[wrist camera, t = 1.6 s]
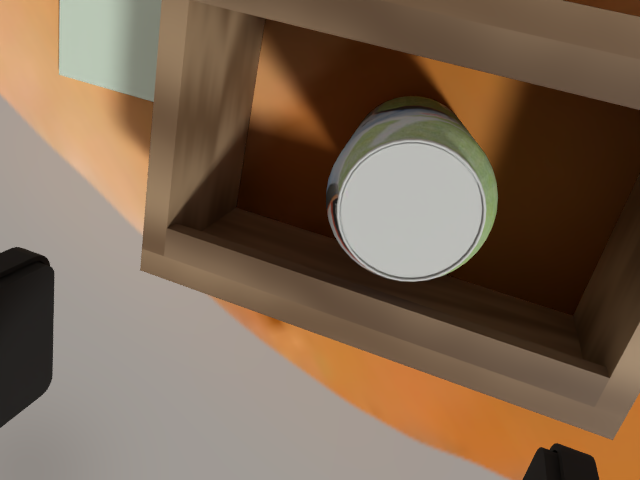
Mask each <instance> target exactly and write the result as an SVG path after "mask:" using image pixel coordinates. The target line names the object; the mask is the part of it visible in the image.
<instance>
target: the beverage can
mask: <svg viewBox="0 0 640 480" xmlns="http://www.w3.org/2000/svg"><path fill="white" fill-rule="evenodd" d="M497 203H498V192H497V182H496V179H495V175H494V172H493V169H492V166H491V164H490V162H489V160H488V158H487V156H486V155H485V153H484V152H483V150H482V149H481V148H480V146H479V145H478V144H477V142H476V141H475V140H474V138H473V137H472V136H471V134H470V133H469V132H468V130H467V129H466V128H465V126H464V125H463V124H462V122H461V121H460V120H459V119H458V117H457V116H456V115H455V114H454V113H453V112H452V111H451V110H450V109H449V108H447V107H446V106H444V105H443V104H441V103H439V102H437V101H435V100H432V99H429V98H425V97H419V96H405V97H399V98H395V99H392V100H389V101H387V102H385V103H383V104H381V105H379V106H378V107H376V108H375V109H374V110H373V111H371V112H370V113H369V114H368V115H367V116H366V118H365V119H364V120H363V121H362V122H361V124H360V125H359V127H358V128H357V130H356V131H355V133H354V134H353V135H352V137H351V138H350V140H349V141H348V143H347V144H346V146H345V147H344V149H343V150H342V152H341V153H340V155H339V157H338V158H337V160H336V162H335V164H334V165H333V168H332V171H331V174H330V176H329V179H328V185H327V191H326V209H327V214H328V219H329V223H330V226H331V228H332V231H333V233H334V236H335V237H336V239H337V241H338V242H339V244H340V246H341V247H342V248H343V249H344V251H345V252H346V253H347V254H348V255H349V256H350V257H351V258H352V259H353V260H354V261H355V262H357V263H358V264H359V265H360V266H362V267H363V268H365V269H367V270H368V271H370V272H372V273H374V274H376V275H379V276H382V277H384V278H388V279H392V280H397V281H410V282H415V281H424V280H430V279H433V278H437V277H441V276H443V275H445V274H448V273H450V272H452V271H454V270H456V269H457V268H459V267H460V266H462V265H463V264H465V263H466V262H467V261H468V260H469V259H470V258H471V257H472V256H474V255H475V254H476V253H477V252H478V250H479V249H480V247H481V246H482V245H483V243H484V242H485V241H486V239H487V237H488V235H489V233H490V231H491V229H492V227H493V223H494V220H495V216H496V213H497Z"/></svg>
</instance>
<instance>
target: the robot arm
mask: <svg viewBox="0 0 640 480" xmlns="http://www.w3.org/2000/svg"><path fill="white" fill-rule="evenodd" d="M53 313H54V270H53V269H52V267H50V263H49V261H48V259H47V258H46V257H45V256H42V255H40V254H37V253H34V252H31V251H29V250H26V249H23V248H20V247H15V248H11V249H9V250H6V251H5V252H2V253H0V428H1V427H2V426H3V425H5V424H6V423H7V422H8V421H9V420H11V419H12V418H13V417H15V416H16V415H17V414H19V413H20V412H21V411H22V410H23V409H25V408H26V407H28V406H29V405H30V404H31V403H33V402H34V401H35V400H36V399H38V398H39V397H40V396H41V395H43V393H44V392H45V391H46V390H47V389H48V387H49V385H50V383H51V380H52V365H53V363H52V362H53V315H54V314H53ZM523 480H599V476H598V472H597V467H596V463H595V460H594V458H593V457H592V456H591V455H588V454H585V453H582V452H580V451H577V450H574V449H571V448H569V447H566V446H563V445H561V444H558V443H556V444H554V445H553V446H552V447H551V448H550V450H548V449H545V448H542V447H540V448H539V449H538V450H537V452H536V453H535V455H534V457H533V459H532V462H531V464H530V466H529V468H528V470H527V472H526V474H525V476H524V478H523Z"/></svg>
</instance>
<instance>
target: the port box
mask: <svg viewBox="0 0 640 480" xmlns="http://www.w3.org/2000/svg"><path fill="white" fill-rule="evenodd" d="M265 18H266V19H270V20H274V21H278V22H282V23H287V24H291V25H295V26H299V27H303V28H307V29H311V30H315V31H319V32H323V33H327V34H331V35H336V36H340V37H344V38H348V39H352V40H356V41H360V42H364V43H368V44H372V45H376V46H380V47H385V48H389V49H393V50H397V51H401V52H405V53H409V54H413V55H417V56H421V57H425V58H430V59H434V60H438V61H442V62H446V63H450V64H454V65H458V66H462V67H466V68H470V69H474V70H479V71H483V72H487V73H491V74H495V75H499V76H503V77H507V78H511V79H515V80H519V81H523V82H528V83H532V84H536V85H540V86H544V87H548V88H552V89H556V90H560V91H564V92H568V93H572V94H577V95H581V96H585V97H589V98H593V99H597V100H601V101H605V102H609V103H613V104H617V105H621V106H626V107H630V108H634V109H638V110H640V17H638V16H633V15H629V14H624V13H619V12H614V11H610V10H605V9H600V8H596V7H591V6H586V5H582V4H577V3H572V2H568V1H563V0H162V3H161V16H160V28H159V41H158V54H157V66H156V79H155V92H154V104H153V117H152V130H151V142H150V155H149V168H148V180H147V193H146V206H145V218H144V231H143V244H142V256H141V269H140V270H141V271H144V272H147V273H150V274H152V275H155V276H158V277H161V278H164V279H166V280H169V281H172V282H175V283H178V284H180V285H183V286H186V287H189V288H191V289H194V290H197V291H200V292H202V293H205V294H208V295H211V296H214V297H216V298H219V299H222V300H225V301H227V302H230V303H233V304H236V305H239V306H241V307H244V308H247V309H250V310H252V311H255V312H258V313H261V314H264V315H266V316H269V317H272V318H275V319H278V320H280V321H283V322H286V323H289V324H291V325H294V326H297V327H300V328H303V329H305V330H308V331H311V332H314V333H316V334H319V335H322V336H325V337H328V338H330V339H333V340H336V341H339V342H342V343H344V344H347V345H350V346H353V347H355V348H358V349H361V350H364V351H367V352H369V353H372V354H375V355H378V356H380V357H383V358H386V359H389V360H392V361H394V362H397V363H400V364H403V365H405V366H408V367H411V368H414V369H417V370H419V371H422V372H425V373H428V374H431V375H433V376H436V377H439V378H442V379H444V380H447V381H450V382H453V383H456V384H458V385H461V386H464V387H467V388H469V389H472V390H475V391H478V392H481V393H483V394H486V395H489V396H492V397H495V398H497V399H500V400H503V401H506V402H508V403H511V404H514V405H517V406H520V407H522V408H525V409H528V410H531V411H533V412H536V413H539V414H542V415H545V416H547V417H550V418H553V419H556V420H558V421H561V422H564V423H567V424H570V425H572V426H575V427H578V428H581V429H584V430H586V431H589V432H592V433H595V434H597V435H600V436H603V437H606V438H609V439H611V440H613V439H614V437H615V435H616V433H617V432H618V430H619V428H620V426H621V425H622V423H623V421H624V419H625V417H626V416H627V414H628V412H629V410H630V409H631V407H632V405H633V403H634V402H635V400H636V398H637V396H638V395H639V393H640V174H639V176H638V178H637V180H636V182H635V184H634V187H633V189H632V191H631V193H630V195H629V197H628V199H627V201H626V204H625V206H624V208H623V210H622V212H621V214H620V216H619V219H618V221H617V223H616V225H615V227H614V229H613V231H612V234H611V236H610V238H609V240H608V242H607V244H606V246H605V248H604V251H603V253H602V255H601V257H600V259H599V261H598V263H597V266H596V268H595V270H594V272H593V274H592V276H591V278H590V281H589V283H588V285H587V287H586V289H585V291H584V293H583V295H582V298H581V300H580V302H579V304H578V306H577V308H576V310H575V313H574V315H573V316H572V315H569V314H566V313H563V312H560V311H556V310H553V309H550V308H547V307H544V306H541V305H538V304H535V303H532V302H528V301H525V300H522V299H519V298H516V297H513V296H510V295H507V294H504V293H500V292H497V291H494V290H491V289H488V288H485V287H482V286H479V285H476V284H472V283H469V282H466V281H463V280H460V279H457V278H454V277H451V276H448V275H443V276H441V277H437V278H433V279H430V280H424V281H415V282H410V281H397V280H392V279H388V278H384V277H382V276H379V275H376V274H374V273H372V272H370V271H368V270H367V269H365V268H363V267H362V266H360V265H359V264H358V263H357V262H355V261H354V260H353V259H352V258H351V257H350V256H349V255H348V254H347V253H346V252H345V251H344V249H343V248H342V247H341V246H340V244H339V242H338V241H337V240H336V239H333V238H329V237H326V236H323V235H320V234H317V233H314V232H311V231H308V230H305V229H301V228H298V227H295V226H292V225H289V224H286V223H283V222H280V221H277V220H273V219H270V218H267V217H264V216H261V215H258V214H255V213H252V212H249V211H245V210H242V209H239V208H236V206H237V199H238V193H239V186H240V180H241V173H242V167H243V160H244V154H245V147H246V140H247V134H248V127H249V121H250V114H251V108H252V101H253V95H254V88H255V82H256V75H257V69H258V62H259V55H260V49H261V42H262V36H263V29H264V23H265Z"/></svg>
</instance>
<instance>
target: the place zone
mask: <svg viewBox="0 0 640 480" xmlns="http://www.w3.org/2000/svg"><path fill="white" fill-rule="evenodd" d="M161 3H162V0H60V17H59V75H62V76H66V77H69V78H73V79H76V80H80V81H83V82H86V83H90V84H93V85H97V86H100V87H104V88H107V89H111V90H114V91H117V92H121V93H124V94H128V95H131V96H135V97H138V98H142V99H145V100H149V101H152V102H154V92H155V79H156V66H157V54H158V41H159V28H160V16H161Z"/></svg>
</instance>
